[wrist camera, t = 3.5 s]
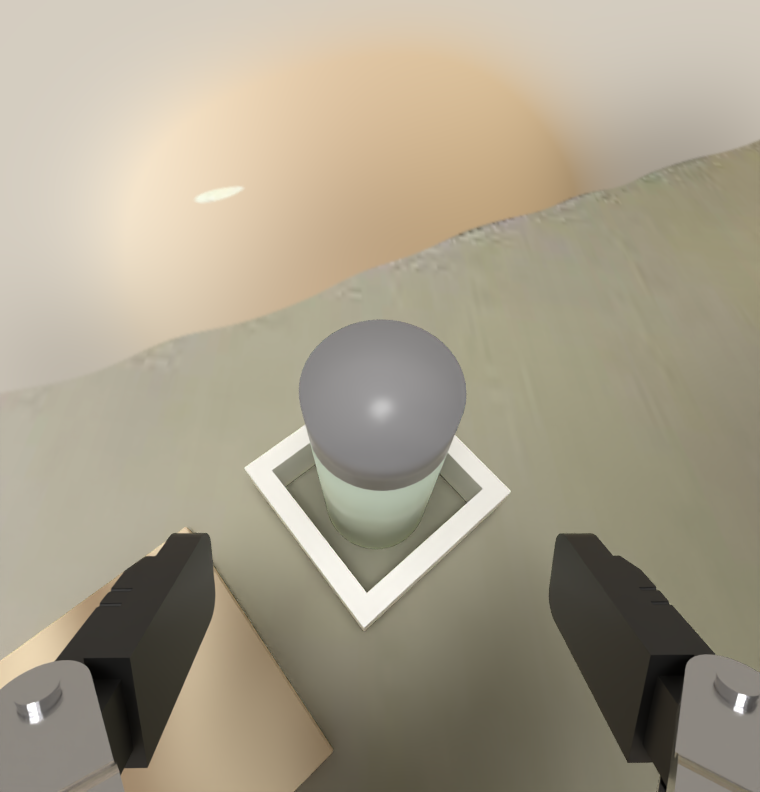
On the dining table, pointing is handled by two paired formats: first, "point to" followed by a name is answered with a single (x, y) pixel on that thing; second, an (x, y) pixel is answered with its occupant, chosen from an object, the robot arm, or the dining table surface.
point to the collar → (367, 607)
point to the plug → (380, 425)
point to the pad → (211, 708)
